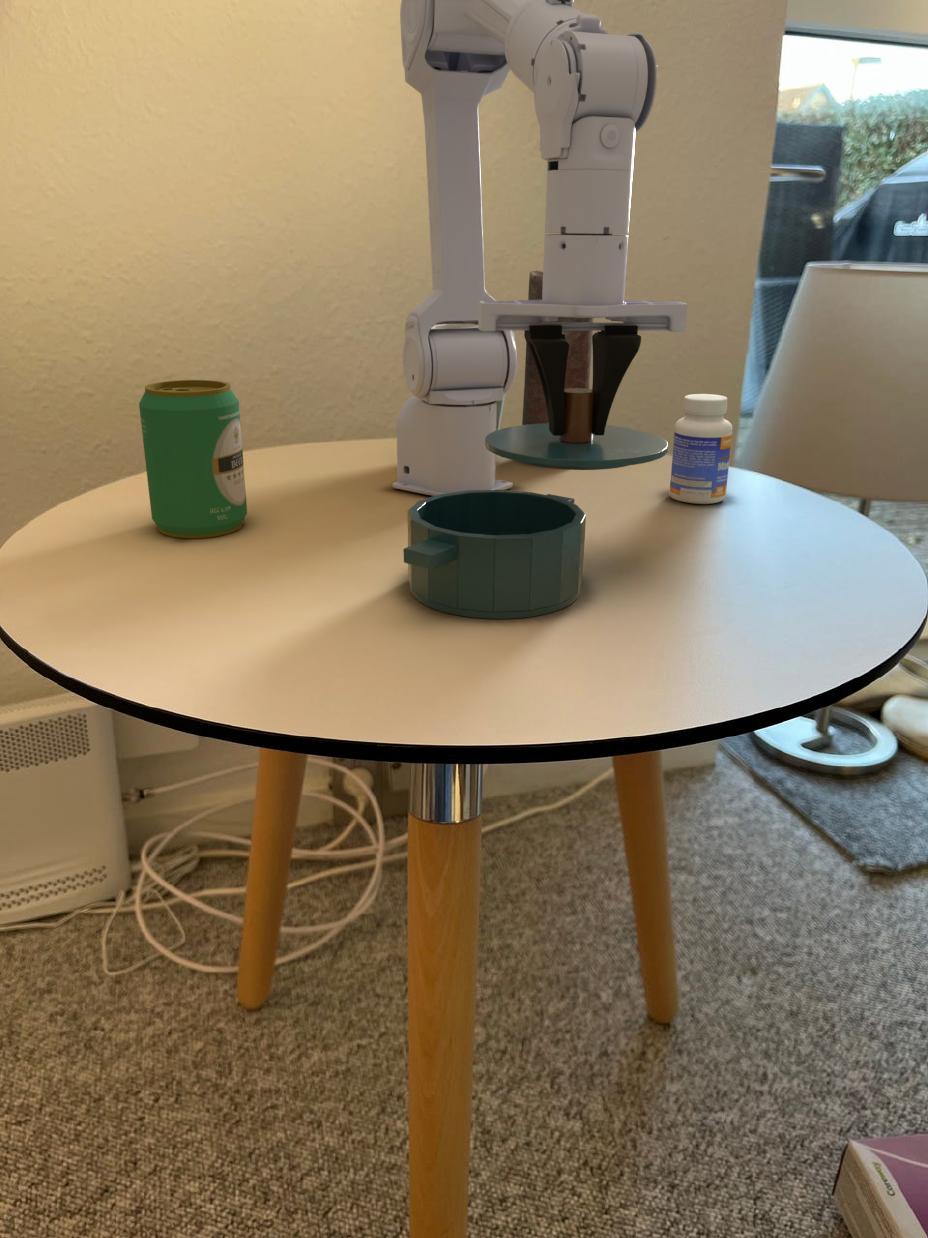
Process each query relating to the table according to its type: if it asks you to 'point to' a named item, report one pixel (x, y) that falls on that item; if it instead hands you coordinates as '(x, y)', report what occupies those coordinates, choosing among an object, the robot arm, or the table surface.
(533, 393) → the candle
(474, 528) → the pot
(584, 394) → the lid
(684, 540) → the table surface
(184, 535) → the beverage can
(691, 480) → the pill bottle
